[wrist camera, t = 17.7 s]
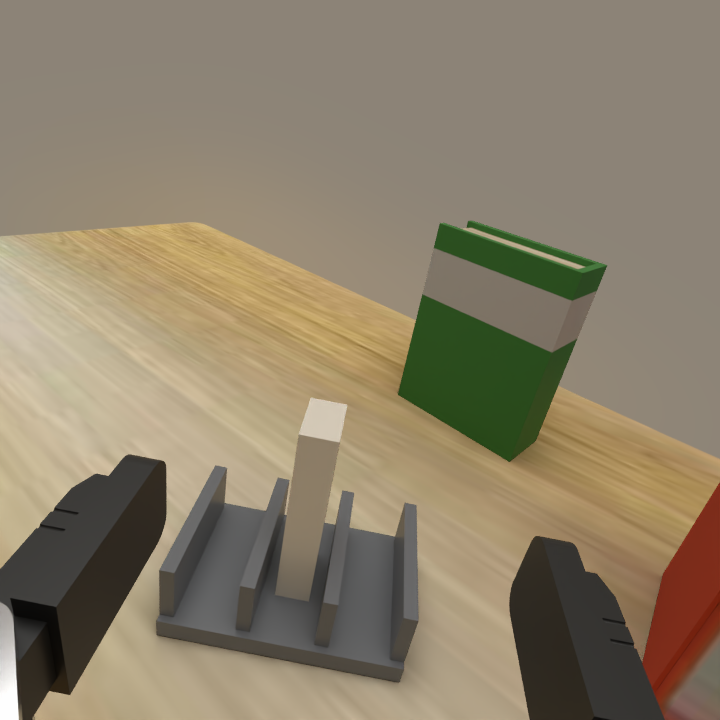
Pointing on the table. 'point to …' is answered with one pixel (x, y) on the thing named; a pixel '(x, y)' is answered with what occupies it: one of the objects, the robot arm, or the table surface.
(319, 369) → the table surface
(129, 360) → the table surface
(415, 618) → the drying rack
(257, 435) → the table surface
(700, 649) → the file binder
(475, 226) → the hardback book
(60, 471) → the table surface
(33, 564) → the robot arm
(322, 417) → the beige rectangular block
